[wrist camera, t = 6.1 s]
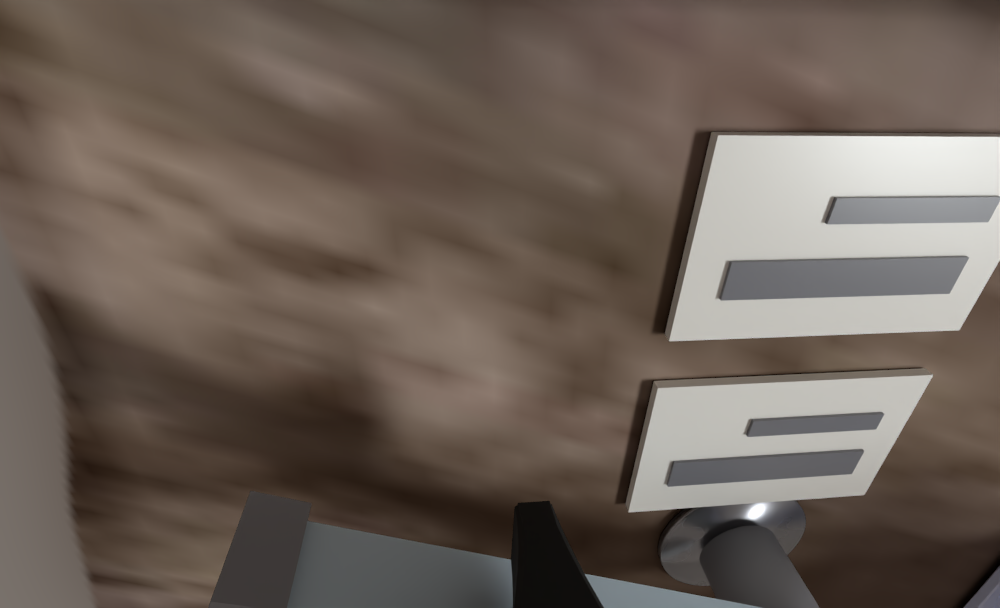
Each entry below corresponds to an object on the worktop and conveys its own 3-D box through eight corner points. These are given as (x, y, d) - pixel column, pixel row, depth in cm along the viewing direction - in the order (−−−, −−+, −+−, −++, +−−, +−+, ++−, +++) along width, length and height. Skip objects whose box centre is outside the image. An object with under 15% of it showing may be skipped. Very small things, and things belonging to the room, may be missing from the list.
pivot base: (821, 480, 17) (827, 487, 17) (775, 571, 20) (779, 579, 19) (673, 490, 17) (677, 498, 16) (646, 583, 19) (649, 591, 19)
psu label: (1056, 133, 12) (1075, 138, 11) (949, 324, 14) (962, 332, 14) (711, 132, 11) (720, 136, 10) (664, 334, 13) (670, 343, 13)
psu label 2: (924, 368, 15) (936, 377, 15) (858, 487, 18) (866, 497, 17) (653, 380, 14) (659, 390, 14) (625, 504, 17) (629, 515, 16)
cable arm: (791, 533, 17) (895, 692, 14) (742, 579, 19) (824, 737, 15) (281, 404, 12) (211, 597, 8) (256, 477, 14) (184, 677, 10)
